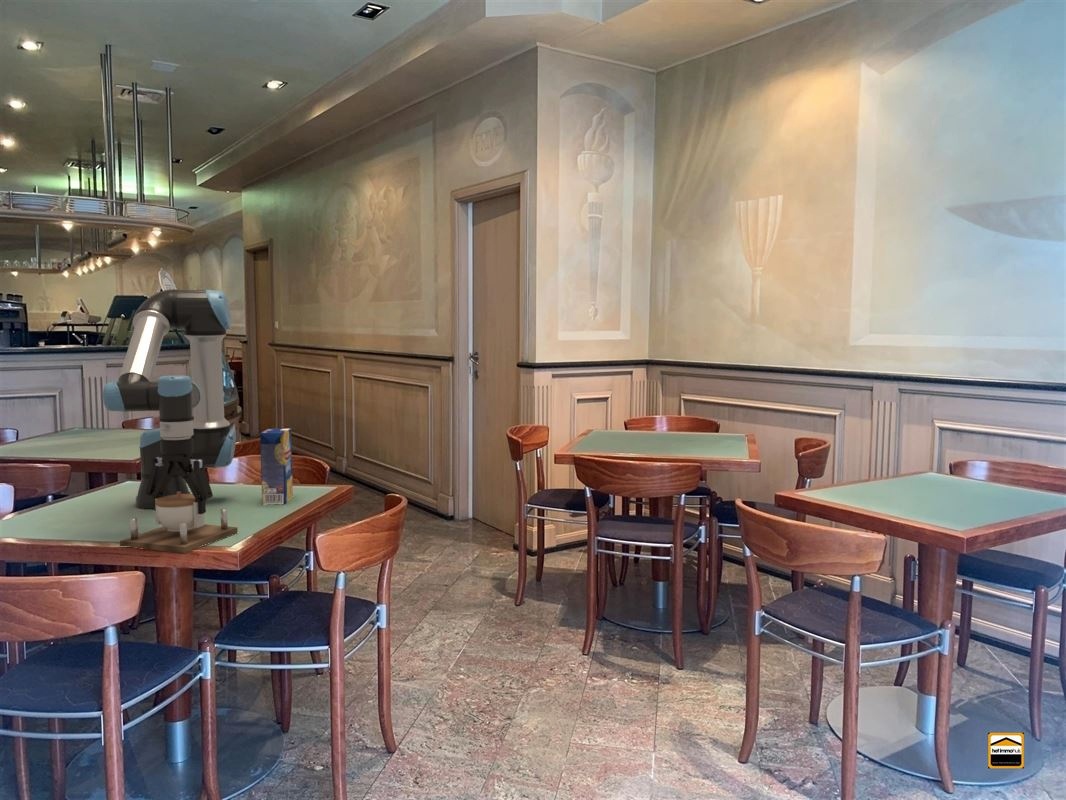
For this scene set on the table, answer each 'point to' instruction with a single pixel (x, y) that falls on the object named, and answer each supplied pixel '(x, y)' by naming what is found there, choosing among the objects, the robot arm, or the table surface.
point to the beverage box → (276, 466)
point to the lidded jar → (175, 511)
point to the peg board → (178, 538)
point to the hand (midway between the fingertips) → (180, 524)
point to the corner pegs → (182, 527)
